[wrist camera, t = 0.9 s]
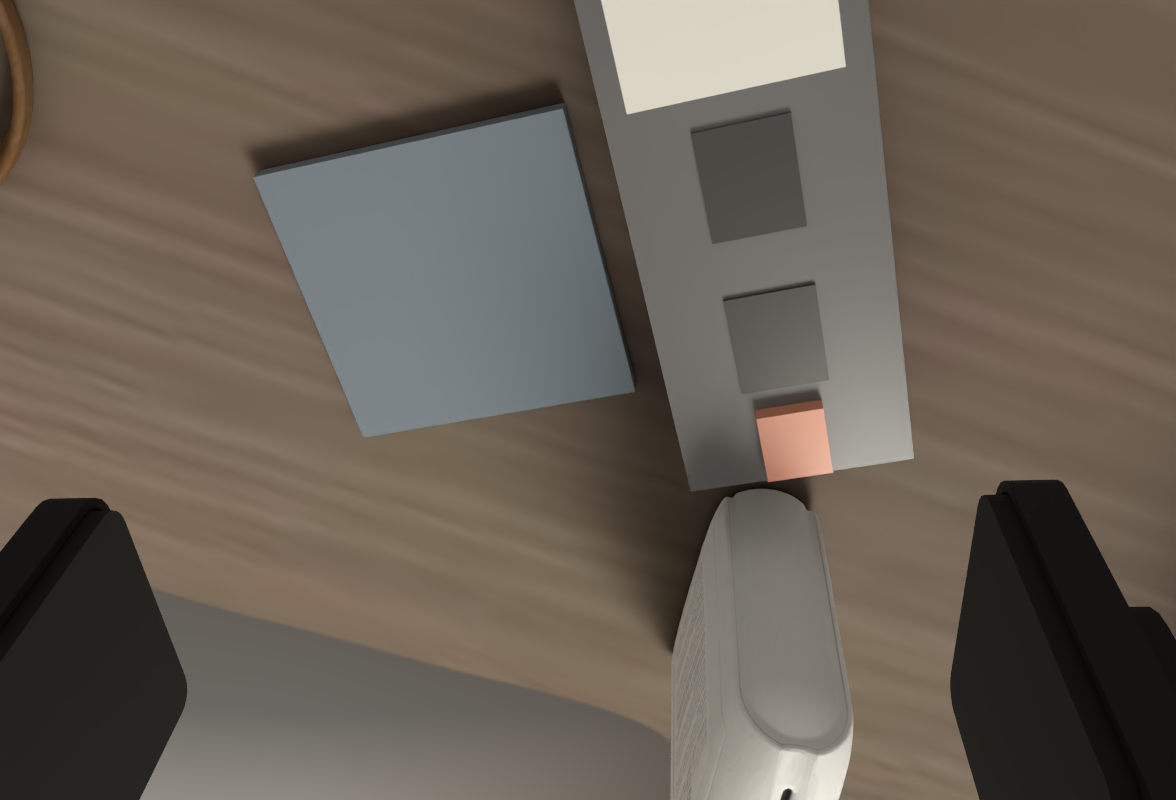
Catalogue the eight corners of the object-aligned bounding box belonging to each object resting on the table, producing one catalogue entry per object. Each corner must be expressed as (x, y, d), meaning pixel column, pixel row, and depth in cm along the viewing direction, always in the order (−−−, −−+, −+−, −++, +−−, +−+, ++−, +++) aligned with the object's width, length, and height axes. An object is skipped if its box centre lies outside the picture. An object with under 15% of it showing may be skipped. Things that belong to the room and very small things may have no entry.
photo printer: (761, 685, 44) (787, 980, 34) (660, 668, 44) (655, 959, 34) (831, 494, 39) (888, 776, 28) (716, 474, 39) (731, 750, 28)
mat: (564, 102, 32) (562, 108, 31) (635, 382, 37) (635, 391, 36) (259, 170, 33) (253, 177, 33) (367, 428, 38) (363, 437, 38)
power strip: (796, -493, 24) (818, -536, 20) (891, 390, 36) (917, 468, 32) (500, -400, 25) (470, -423, 21) (689, 422, 37) (690, 501, 34)
